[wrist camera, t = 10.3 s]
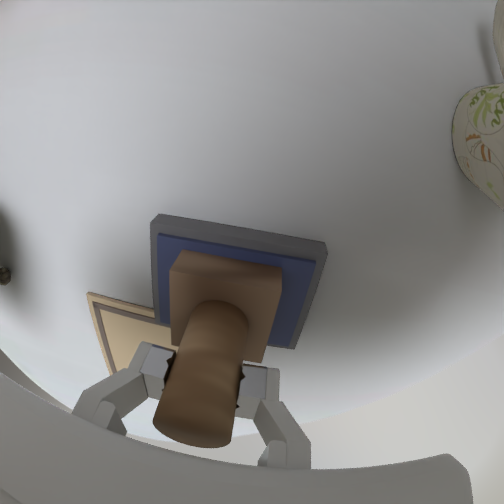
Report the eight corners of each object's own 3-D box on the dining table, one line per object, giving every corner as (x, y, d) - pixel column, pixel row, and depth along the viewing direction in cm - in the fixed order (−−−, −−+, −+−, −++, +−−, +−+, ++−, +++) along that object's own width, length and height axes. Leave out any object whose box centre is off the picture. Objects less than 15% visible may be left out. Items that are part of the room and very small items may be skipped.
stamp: (281, 267, 14) (278, 415, 7) (263, 337, 16) (251, 464, 9) (182, 248, 14) (110, 376, 7) (181, 321, 16) (136, 438, 9)
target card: (234, 326, 18) (233, 330, 18) (221, 406, 24) (220, 410, 23) (88, 291, 18) (85, 294, 18) (113, 378, 24) (111, 381, 23)
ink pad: (324, 242, 15) (328, 256, 14) (294, 336, 18) (294, 352, 17) (159, 213, 15) (148, 224, 14) (161, 311, 18) (153, 326, 17)
